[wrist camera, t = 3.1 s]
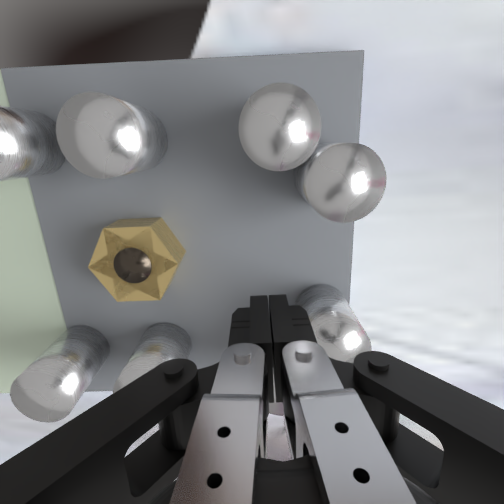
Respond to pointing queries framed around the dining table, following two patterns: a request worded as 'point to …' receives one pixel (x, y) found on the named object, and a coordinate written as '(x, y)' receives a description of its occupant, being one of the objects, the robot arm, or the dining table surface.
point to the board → (170, 207)
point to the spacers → (147, 157)
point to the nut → (137, 259)
